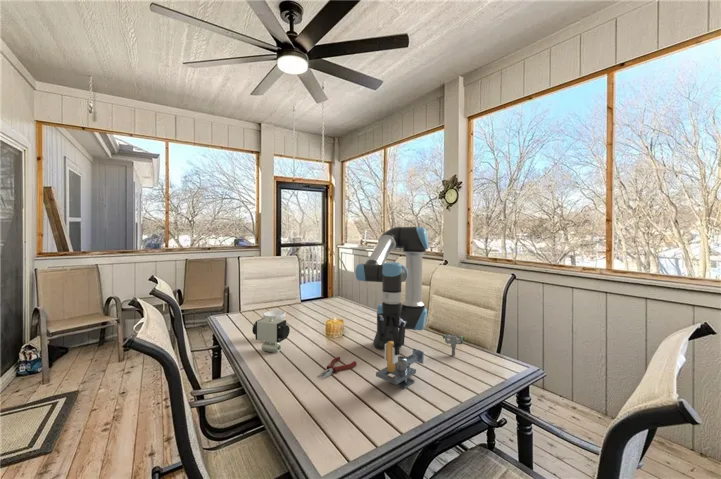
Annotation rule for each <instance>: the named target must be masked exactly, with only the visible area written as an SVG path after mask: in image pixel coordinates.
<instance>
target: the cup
mask: <svg viewBox="0 0 721 479" xmlns="http://www.w3.org/2000/svg"><path fill="white" fill-rule="evenodd" d="M286 313H287V312H286V311H284V310H279V309H278V310H277V309H275V310H268V311H265V312H264V313H263V314H262V315H263V316H262V317H263V318H270V317H272V319H279V320H285V318H286V315H287V314H286Z"/></svg>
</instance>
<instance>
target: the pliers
mask: <svg viewBox="0 0 721 479" xmlns="http://www.w3.org/2000/svg"><path fill="white" fill-rule="evenodd" d="M339 361H341V357H340V356H336V357H334V358H333V359H332V360H331V363H330V364H329V365H327V366H326V369H325V370H324V371H323V372H321V373H320V374H319V375H317V378H321V377H322V379H325V378H328V377H330V376H331V375H332V374H336V375H338V373H339V372H344V371H348V370H352V369H354V368H355V367H356V366H357V364H358V363H357V361H356V360H353V361H352V362H350V363H347V364H344V365H343V364H342V365H339V366H335V364H336V363H338V362H339Z"/></svg>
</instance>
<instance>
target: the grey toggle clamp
mask: <svg viewBox="0 0 721 479" xmlns="http://www.w3.org/2000/svg"><path fill="white" fill-rule="evenodd" d="M424 361H425V360H424V351H421V350H419V349H418V348H417V349H416V348H412V354H410V355H408V356H403V355H402V356H399V355H398V362H396V363H395V371H394V372H388V371H387V366H386V367H385V368H382V369H380V370H378V371H376V372H375V377H377V378H379V379H381V380H383V381H386V382H388V383H390V384H393V385H394V386H397V387H399V388H401V389H404V390H405V389H407V388H409V387H410V386H411V385H413V384H415V383H416V382H415V381H416V380H414V379H412V378H410V377H412V376H414V375H415V374H417V369H416V368H413V367H411V365H413V364H416V363H418V364H424ZM390 375H393V376H390Z"/></svg>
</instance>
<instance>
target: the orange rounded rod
mask: <svg viewBox="0 0 721 479" xmlns="http://www.w3.org/2000/svg"><path fill="white" fill-rule="evenodd" d="M393 346H394V342H393V341H389V342H387V361H386V367H387V371H388V372H394V371H395V363H394V364H393V363H392V347H393Z"/></svg>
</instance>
